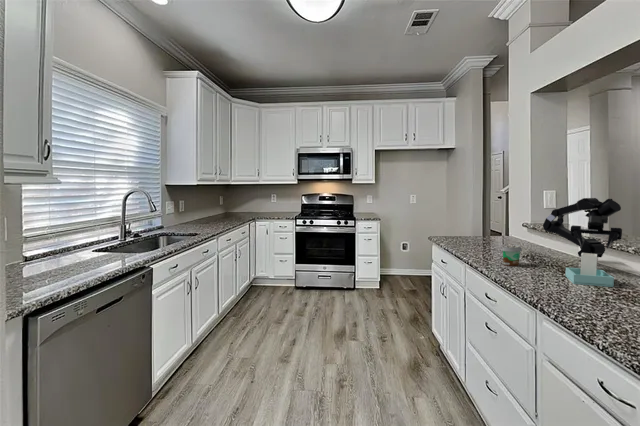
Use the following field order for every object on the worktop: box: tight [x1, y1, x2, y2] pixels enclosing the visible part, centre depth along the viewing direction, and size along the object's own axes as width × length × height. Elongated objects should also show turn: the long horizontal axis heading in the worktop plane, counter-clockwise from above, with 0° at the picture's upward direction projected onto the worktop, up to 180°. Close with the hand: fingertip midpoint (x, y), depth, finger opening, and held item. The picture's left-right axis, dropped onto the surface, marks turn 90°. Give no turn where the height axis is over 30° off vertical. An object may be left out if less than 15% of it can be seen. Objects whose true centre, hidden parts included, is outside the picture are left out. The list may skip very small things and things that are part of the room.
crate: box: [565, 267, 615, 288], centre depth 152 cm, size 14×14×4 cm
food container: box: [502, 244, 523, 267], centre depth 183 cm, size 12×6×10 cm, turn 123°
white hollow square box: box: [580, 253, 598, 276], centre depth 151 cm, size 5×5×11 cm
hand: (594, 246), depth 159 cm, fingers open, 9 cm apart
